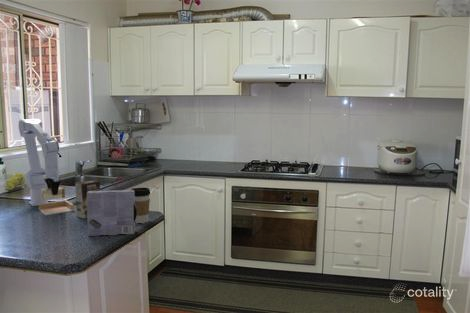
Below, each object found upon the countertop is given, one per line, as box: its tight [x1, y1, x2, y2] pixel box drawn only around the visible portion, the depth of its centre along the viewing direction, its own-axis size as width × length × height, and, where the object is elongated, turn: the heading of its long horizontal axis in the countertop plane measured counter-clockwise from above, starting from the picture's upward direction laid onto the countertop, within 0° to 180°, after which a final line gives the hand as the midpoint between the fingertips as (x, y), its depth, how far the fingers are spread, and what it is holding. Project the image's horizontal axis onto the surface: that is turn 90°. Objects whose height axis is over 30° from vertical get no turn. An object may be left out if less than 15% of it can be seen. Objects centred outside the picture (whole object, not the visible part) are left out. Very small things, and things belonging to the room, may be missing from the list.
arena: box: [38, 199, 75, 216], centre depth 200 cm, size 12×13×3 cm
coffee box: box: [74, 179, 101, 219], centre depth 190 cm, size 9×6×16 cm
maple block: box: [42, 186, 66, 201], centre depth 198 cm, size 5×9×4 cm, turn 128°
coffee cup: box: [131, 187, 151, 224], centre depth 180 cm, size 8×8×15 cm
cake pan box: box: [86, 189, 137, 237], centre depth 164 cm, size 19×5×18 cm, turn 99°
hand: (53, 193), depth 198 cm, fingers closed on maple block, 5 cm apart
